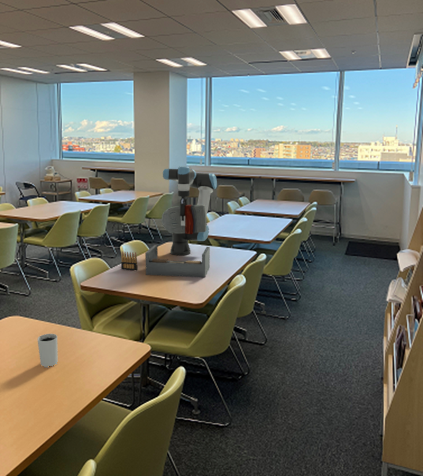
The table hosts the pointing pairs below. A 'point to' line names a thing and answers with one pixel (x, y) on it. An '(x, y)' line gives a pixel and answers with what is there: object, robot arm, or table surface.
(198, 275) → the rack
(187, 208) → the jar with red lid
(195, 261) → the teak offcut
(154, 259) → the walnut offcut
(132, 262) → the ammunition clip
